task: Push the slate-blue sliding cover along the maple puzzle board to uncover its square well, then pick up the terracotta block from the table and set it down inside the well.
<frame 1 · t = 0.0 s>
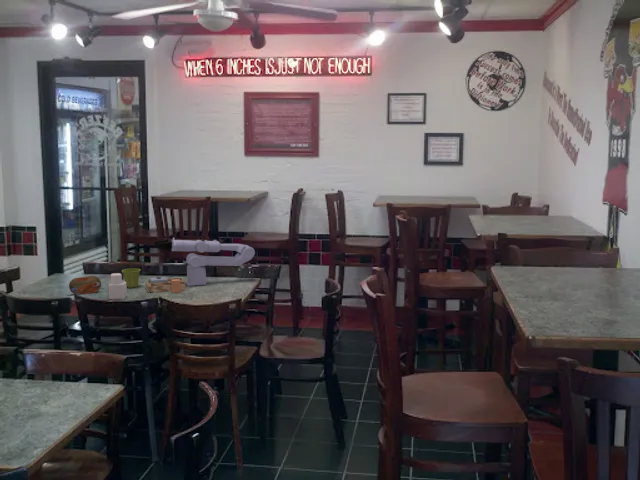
hand: (155, 244, 358), 22 cm above the table, tool horizontal, fingers open, 7 cm apart
slate cover: (158, 280, 354), point 5 cm above the table, slide at 0.0 cm
medicine bottle: (117, 298, 336), on the table
tin: (85, 293, 347), on the table
terracotta block: (176, 292, 348), on the table
puzzle board: (165, 289, 355), on the table
plant pot: (131, 287, 362), on the table
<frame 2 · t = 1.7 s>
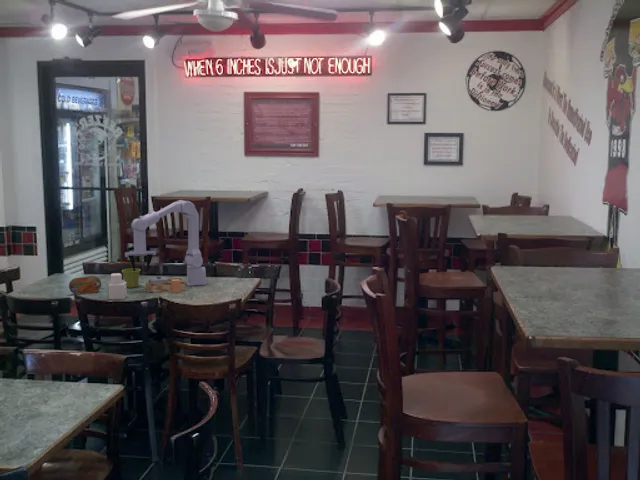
hand: (141, 270, 350), 10 cm above the table, tool pointing down, fingers open, 6 cm apart
nothing on the table moved.
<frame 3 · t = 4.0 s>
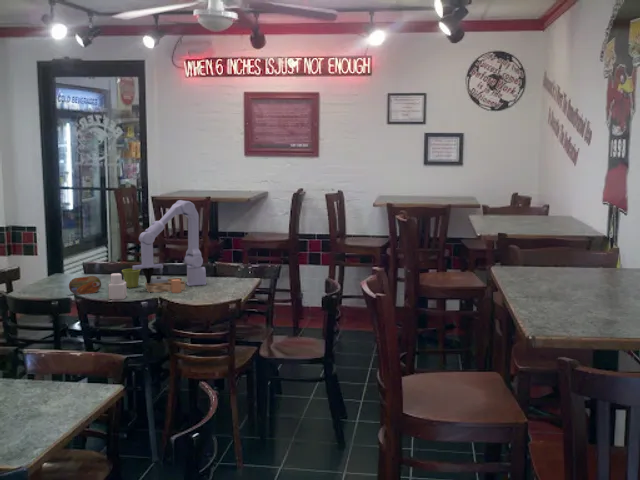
hand: (148, 283, 352), 4 cm above the table, tool pointing down, fingers closed
slate cover: (158, 280, 354), point 5 cm above the table, slide at 0.1 cm, touching gripper
everything else where it was.
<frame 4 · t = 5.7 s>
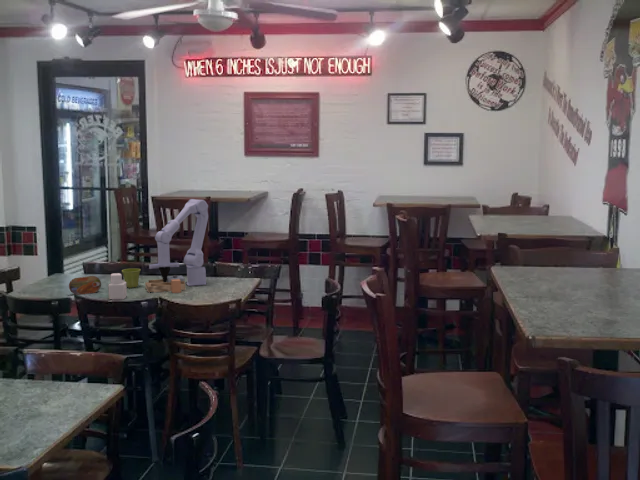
hand: (164, 281, 355), 4 cm above the table, tool pointing down, fingers closed
slate cover: (175, 278, 356), point 5 cm above the table, slide at 8.1 cm, touching gripper
everything else where it was.
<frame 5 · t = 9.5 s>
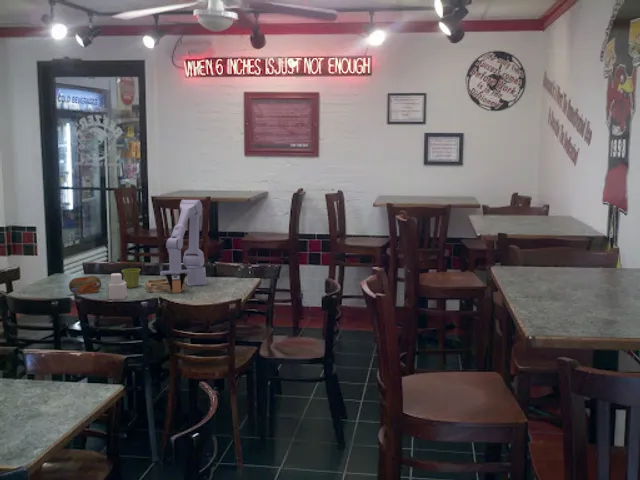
hand: (176, 289, 348), 1 cm above the table, tool pointing down, fingers closed on terracotta block, 4 cm apart
slate cover: (175, 278, 356), point 5 cm above the table, slide at 8.2 cm
terracotta block: (176, 291, 348), on the table, touching gripper
everything else where it was.
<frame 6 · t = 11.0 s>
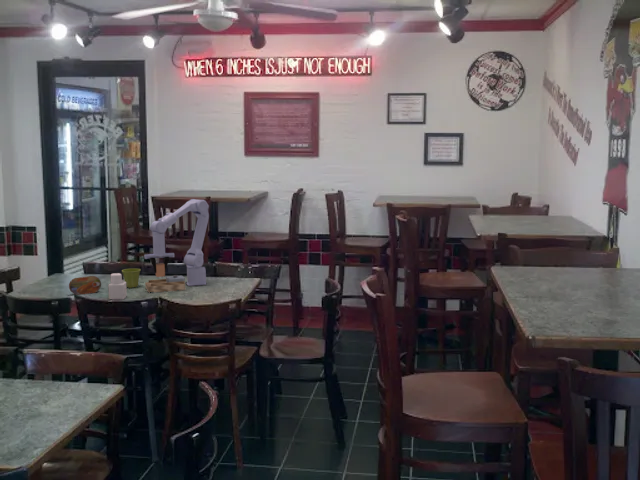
hand: (160, 272, 352), 9 cm above the table, tool pointing down, fingers closed on terracotta block, 4 cm apart
terracotta block: (160, 275, 352), point 7 cm above the table, touching gripper
everything else where it was.
when the fingers open (3 cm above the table, at t = 12.6 s): terracotta block drops 1 cm, resting on puzzle board.
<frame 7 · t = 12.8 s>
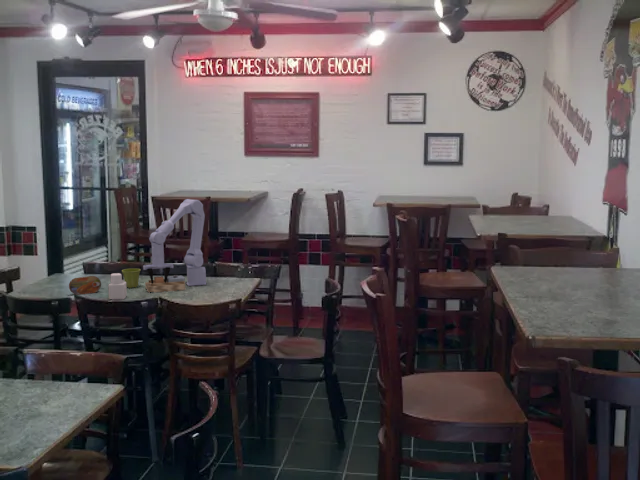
hand: (159, 282, 354), 3 cm above the table, tool pointing down, fingers open, 6 cm apart
slate cover: (175, 278, 356), point 5 cm above the table, slide at 8.2 cm, touching gripper
terracotta block: (159, 289, 354), resting on puzzle board
everything else where it was.
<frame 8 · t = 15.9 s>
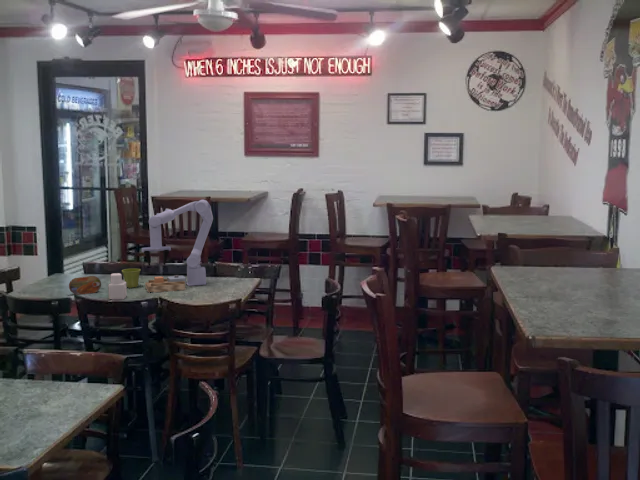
hand: (156, 264, 365), 10 cm above the table, tool pointing down, fingers open, 7 cm apart
slate cover: (176, 278, 357), point 5 cm above the table, slide at 8.8 cm
everything else where it was.
at the end: slate cover slide at 8.8 cm; terracotta block 0.3 cm from the target spot on the puzzle board, point 0.3 cm above the puzzle board's base; terracotta block tilted 0° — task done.
